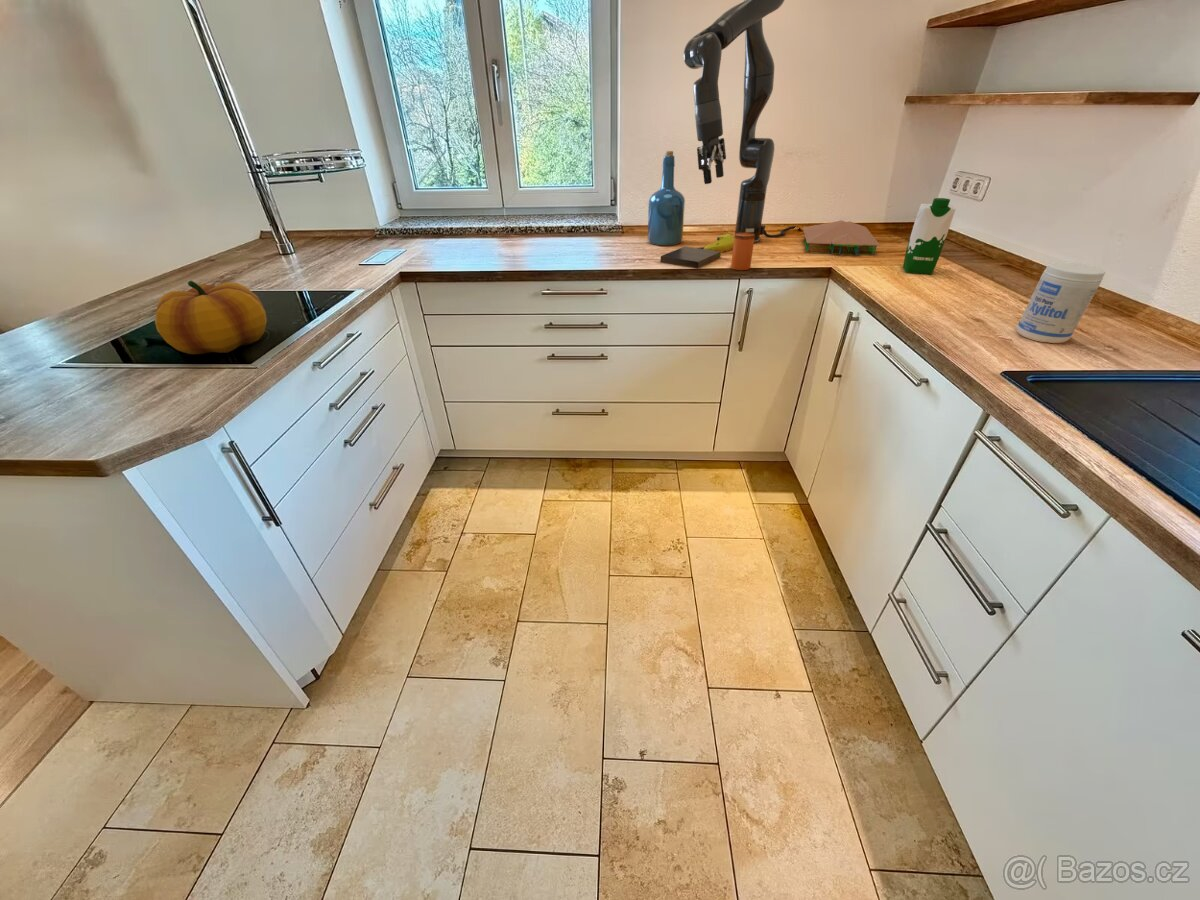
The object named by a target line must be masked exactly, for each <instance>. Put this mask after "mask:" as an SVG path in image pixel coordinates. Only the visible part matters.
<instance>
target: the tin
mask: <svg viewBox="0 0 1200 900" xmlns="http://www.w3.org/2000/svg"><path fill="white" fill-rule="evenodd" d="M733 236H734V245H733V247H732V252H731V253H732V254H731V263H730V268H731V269H732V270H736V271H747V270H750V269H751V266H752V258H753V250H754V244H755V243H754V237H755V234H753V233H748V232H739V233H735V232H734V235H733Z"/></svg>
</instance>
